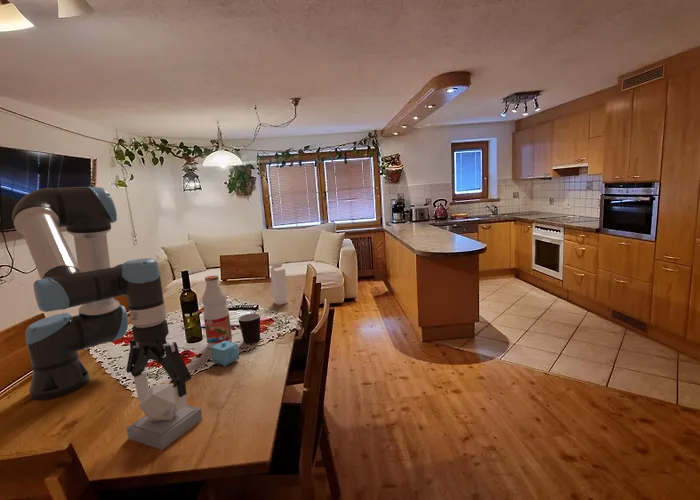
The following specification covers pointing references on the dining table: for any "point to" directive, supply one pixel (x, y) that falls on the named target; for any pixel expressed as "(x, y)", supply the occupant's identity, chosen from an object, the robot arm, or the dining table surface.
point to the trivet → (164, 428)
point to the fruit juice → (216, 313)
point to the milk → (279, 284)
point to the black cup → (250, 328)
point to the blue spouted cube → (225, 353)
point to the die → (159, 403)
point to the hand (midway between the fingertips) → (162, 402)
